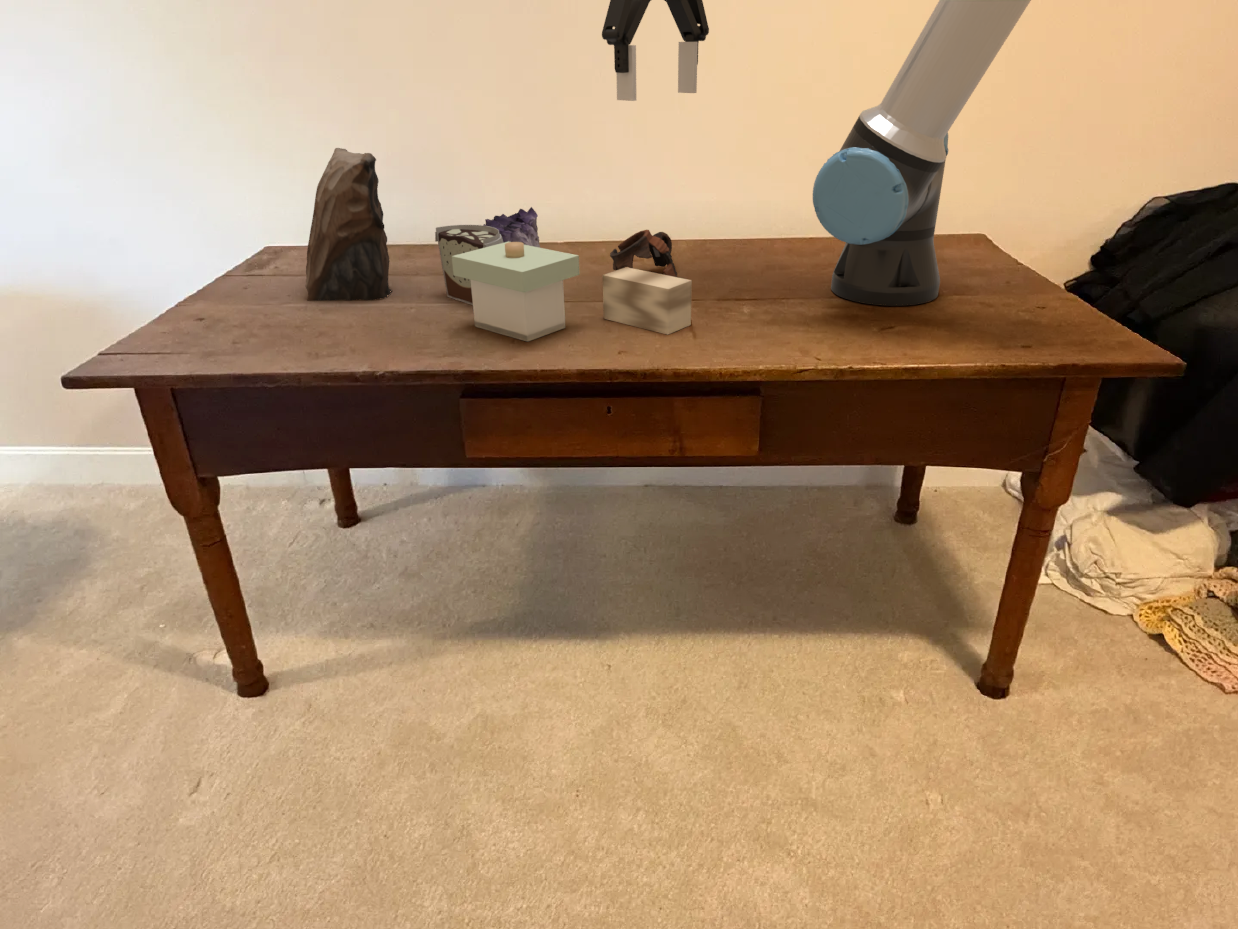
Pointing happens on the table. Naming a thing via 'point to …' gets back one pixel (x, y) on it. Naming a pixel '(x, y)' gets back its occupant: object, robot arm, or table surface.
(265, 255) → the table surface
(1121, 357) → the table surface
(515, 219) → the geode
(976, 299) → the table surface
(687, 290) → the marbled stone block
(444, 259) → the food container
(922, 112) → the robot arm
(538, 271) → the lid
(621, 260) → the pottery mug
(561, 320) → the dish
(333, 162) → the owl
